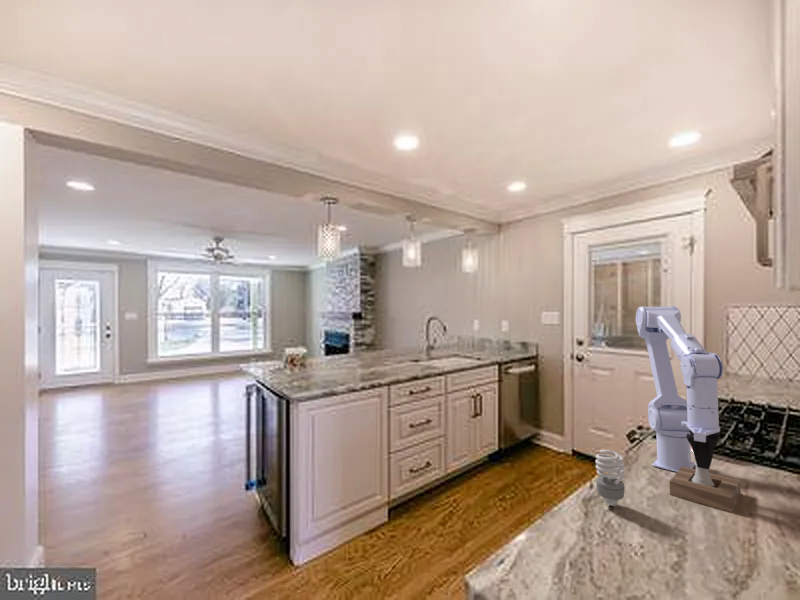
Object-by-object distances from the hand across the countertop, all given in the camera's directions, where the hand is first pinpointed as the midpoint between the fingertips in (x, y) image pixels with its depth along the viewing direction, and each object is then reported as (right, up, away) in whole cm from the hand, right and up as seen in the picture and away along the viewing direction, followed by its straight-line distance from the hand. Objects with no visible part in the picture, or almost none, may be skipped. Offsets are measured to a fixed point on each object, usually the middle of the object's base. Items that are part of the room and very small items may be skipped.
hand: (704, 465), depth 90 cm
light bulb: (-24, -7, -5) cm, 26 cm away
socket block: (0, -7, 0) cm, 6 cm away
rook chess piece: (0, -6, 0) cm, 6 cm away
